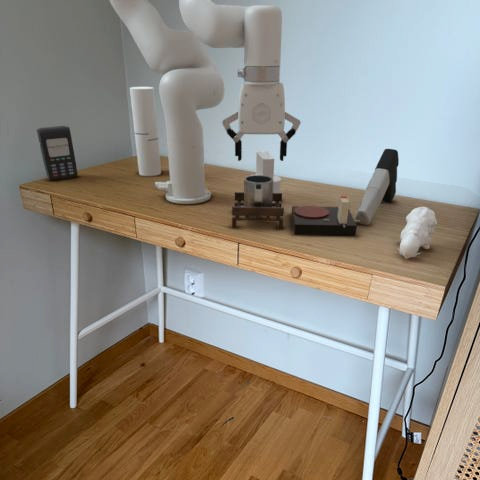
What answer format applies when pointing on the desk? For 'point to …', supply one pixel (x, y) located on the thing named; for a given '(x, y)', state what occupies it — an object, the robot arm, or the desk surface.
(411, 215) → the white animal figurine
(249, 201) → the steel pot
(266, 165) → the base with upright slab
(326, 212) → the hot plate
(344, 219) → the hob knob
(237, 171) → the desk surface
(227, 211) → the desk surface
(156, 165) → the cylindrical container
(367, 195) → the handheld device
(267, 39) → the robot arm
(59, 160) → the card reader
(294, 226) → the hob
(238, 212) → the drying rack
